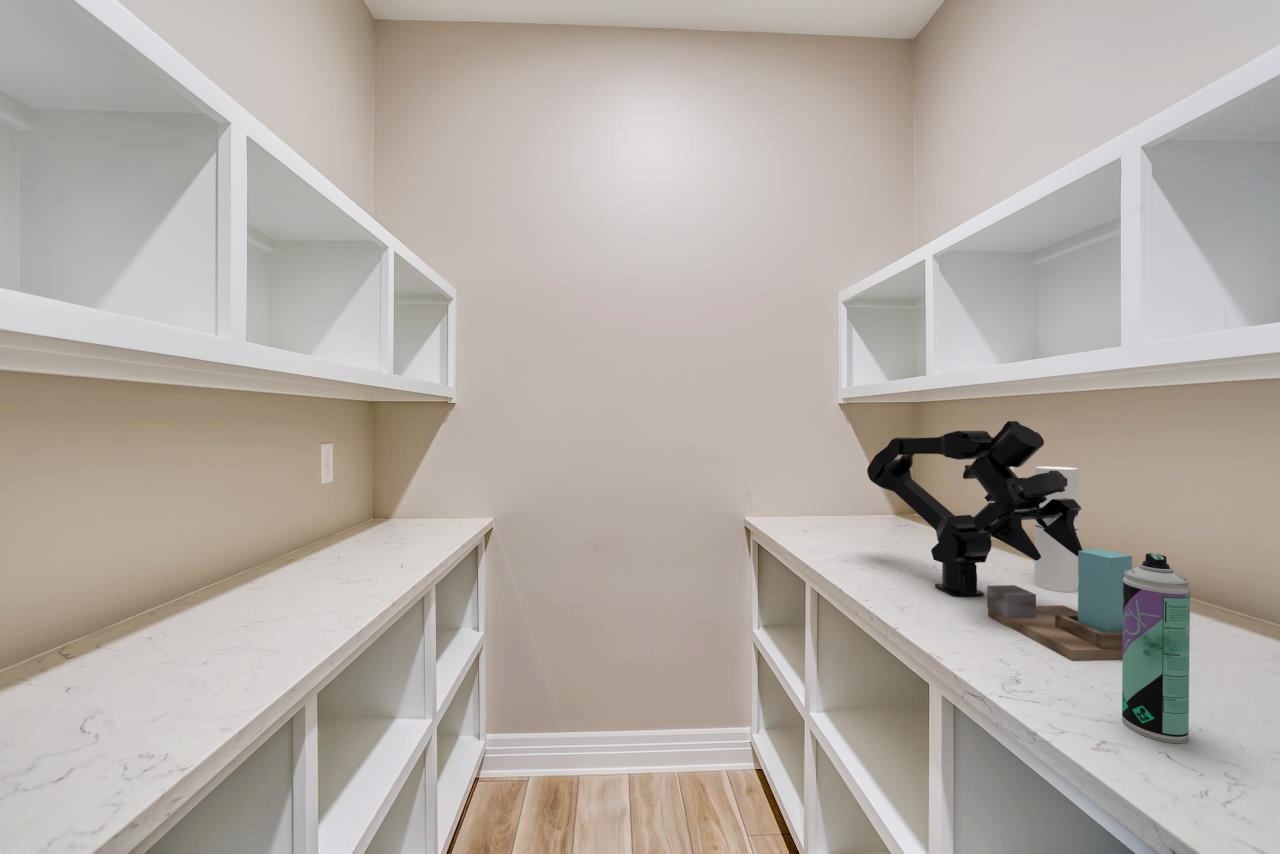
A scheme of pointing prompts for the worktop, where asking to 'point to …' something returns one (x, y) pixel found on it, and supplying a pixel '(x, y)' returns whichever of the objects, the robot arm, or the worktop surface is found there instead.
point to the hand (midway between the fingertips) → (1060, 557)
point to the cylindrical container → (1057, 561)
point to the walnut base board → (1052, 625)
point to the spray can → (1156, 651)
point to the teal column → (1101, 589)
